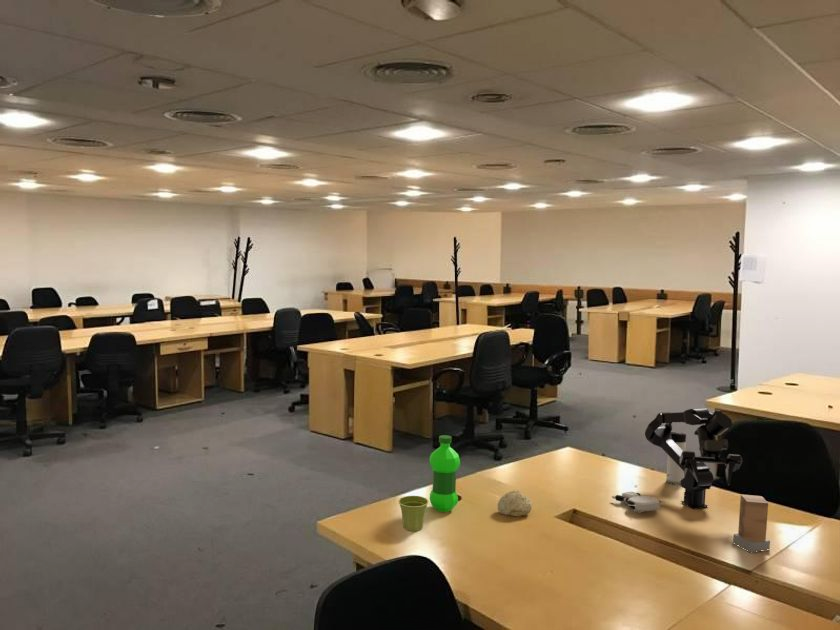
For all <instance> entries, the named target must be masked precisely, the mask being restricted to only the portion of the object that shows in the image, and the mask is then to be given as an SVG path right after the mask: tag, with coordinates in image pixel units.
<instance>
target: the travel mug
mask: <svg viewBox="0 0 840 630" xmlns="http://www.w3.org/2000/svg"><path fill="white" fill-rule="evenodd" d="M671 439H672V440H673V441H674V442H675V443H676V444H677V445H678V446H679V447H680V448H681V449H682V450H683V451H686V445H687V434H686V433H683V432H681V433H679V432H673V431H671ZM683 478H684V471H683V470H682V469H681V468H680V467H679V466H678V465H677V464H676V463H675V461H674V460H673V459H672V458H671V457H670V456H669V455H668V454H667V461H666V478H665V479H666V480H665V482H667V483H668V482H669V483H668V484H670V483H673V484H672V485H674V484H681V482H680V481H681V480H682V479H683Z"/></svg>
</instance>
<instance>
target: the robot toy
mask: <svg viewBox="0 0 840 630" xmlns="http://www.w3.org/2000/svg"><path fill="white" fill-rule="evenodd" d="M611 498H612V499H614V500H615V501H617V502H623V503H624V505H626V506H627V507H628V508H629V509H632V511H634V512H636V513H642V512H653V511H656V510H659V508H660V503H663V504H664V503H665V500H664V501H662V500H661V501H660V500H659V499H658V498H656V497H653V496H648V495H641V493H639V492H634V491H625V492H622V493H621V495H620V494H616V495H612V496H611Z"/></svg>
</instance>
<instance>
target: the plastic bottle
mask: <svg viewBox="0 0 840 630" xmlns="http://www.w3.org/2000/svg"><path fill="white" fill-rule="evenodd" d="M452 439H453V437H452V435H451V436H450V435H449V434H448V435H447V434H444V435H443V434H442V435H439V436H438V442H439V443H440V445H439V447H438V448H436V449H435V450H434V451H433V452H431V453H430V454H429V455H430V456H429V466H430V468H431V469H432V489H431V491H430V493H429V501H430V504H431V506H432V507H433V508H434V509H435V510H436V511H439V512H442V513H445V512H447V513H448V512H449V511H452V509H454V508H455V507H456V506H457V504H458V502H459V497H458V494H457V491H456V489H457V488H456V486H457V485H456V484H457V480H456V479H457V471H458V470H459V469H460V466H461V459H460V456H459V453H457V452H456V450H454V449H453V448H452V447H451V443H452Z"/></svg>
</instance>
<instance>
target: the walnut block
mask: <svg viewBox="0 0 840 630" xmlns="http://www.w3.org/2000/svg"><path fill="white" fill-rule="evenodd" d="M739 501H740V502H739V514H738V515H739V516H738V529H737V531H738V533H739V534H740V536H741V537H742V538H743V540H746V541H756V542H766V539H767V538H766V537H767V529H768V528H767V527H768V515H769V514H768V513H769V511H768V510H769V502H768V501H767V500H766V499H765V497H763V496H761V495H751V494H740V500H739Z"/></svg>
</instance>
